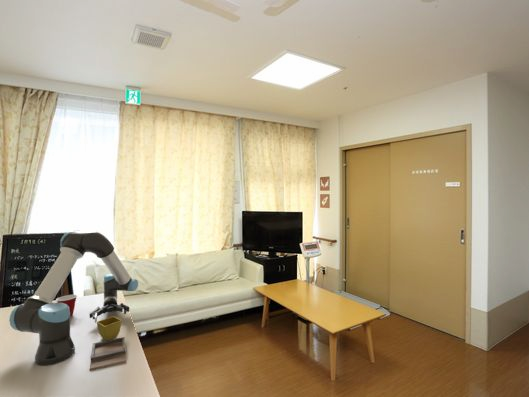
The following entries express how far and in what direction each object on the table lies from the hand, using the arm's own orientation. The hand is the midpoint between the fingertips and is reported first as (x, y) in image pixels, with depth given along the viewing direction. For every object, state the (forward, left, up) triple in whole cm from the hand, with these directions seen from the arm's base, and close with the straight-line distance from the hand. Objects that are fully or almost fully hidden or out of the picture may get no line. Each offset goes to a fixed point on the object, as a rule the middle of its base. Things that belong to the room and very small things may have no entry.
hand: (109, 317), depth 164 cm
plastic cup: (+2, +39, -7) cm, 39 cm away
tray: (-18, -21, -7) cm, 29 cm away
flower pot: (-6, -7, -7) cm, 12 cm away
